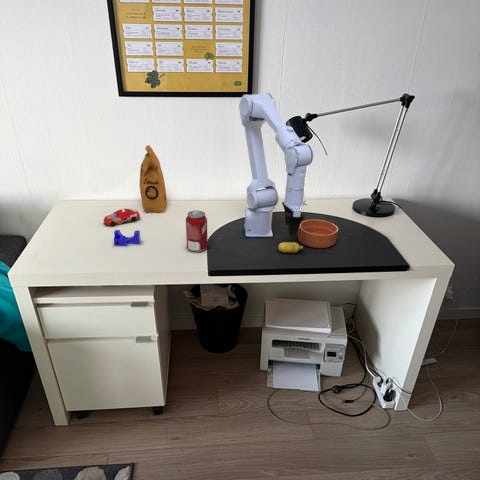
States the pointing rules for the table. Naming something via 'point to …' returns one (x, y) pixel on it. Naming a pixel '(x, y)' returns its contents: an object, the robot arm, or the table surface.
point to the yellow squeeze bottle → (289, 247)
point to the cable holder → (126, 238)
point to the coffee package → (152, 183)
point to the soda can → (196, 231)
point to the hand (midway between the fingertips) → (290, 229)
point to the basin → (317, 233)
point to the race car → (122, 217)
